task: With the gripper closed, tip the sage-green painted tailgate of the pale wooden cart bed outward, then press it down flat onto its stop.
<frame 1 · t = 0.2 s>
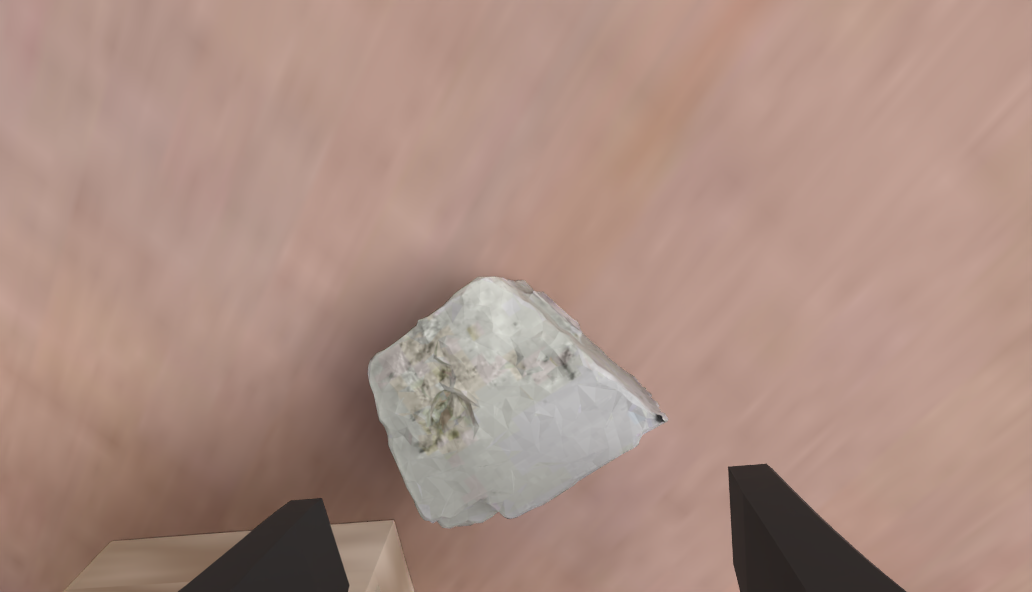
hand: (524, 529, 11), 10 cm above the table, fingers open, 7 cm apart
mineral specimen: (520, 331, 21), on the table
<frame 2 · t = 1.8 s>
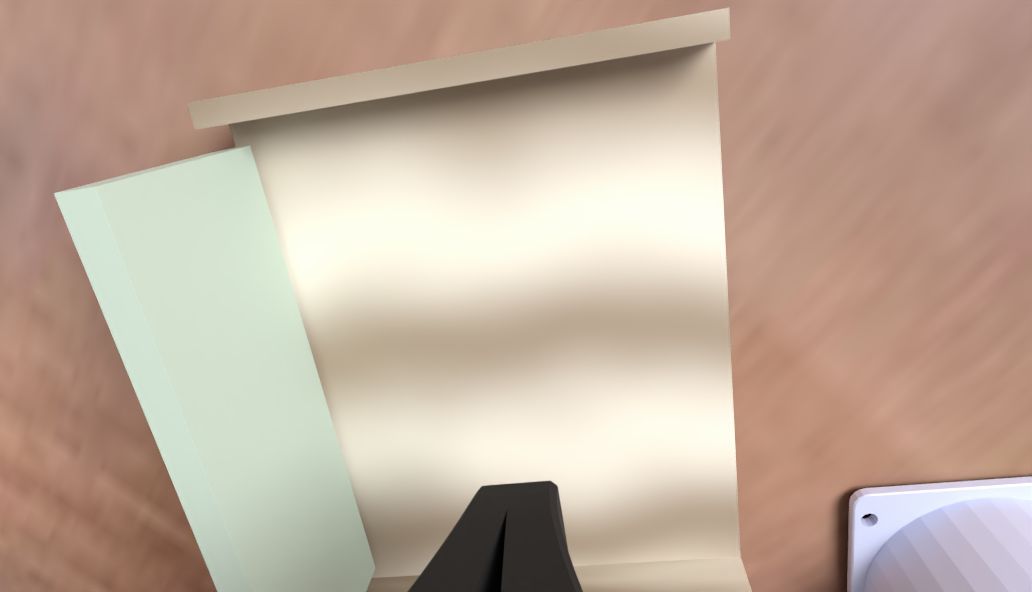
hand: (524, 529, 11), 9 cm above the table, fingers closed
tailgate: (263, 437, 16), point 5 cm above the table, hinge at 0.0°
cart bed: (516, 325, 20), on the table
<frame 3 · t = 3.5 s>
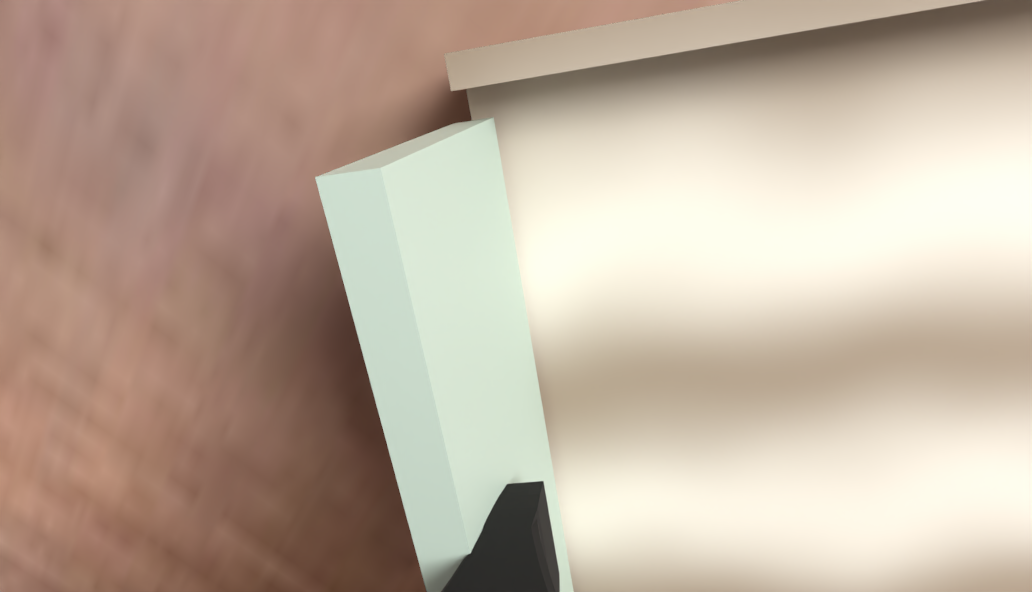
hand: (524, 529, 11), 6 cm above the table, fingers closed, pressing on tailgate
tailgate: (502, 508, 12), point 5 cm above the table, hinge at 6.1°, touching gripper
cart bed: (766, 347, 16), on the table
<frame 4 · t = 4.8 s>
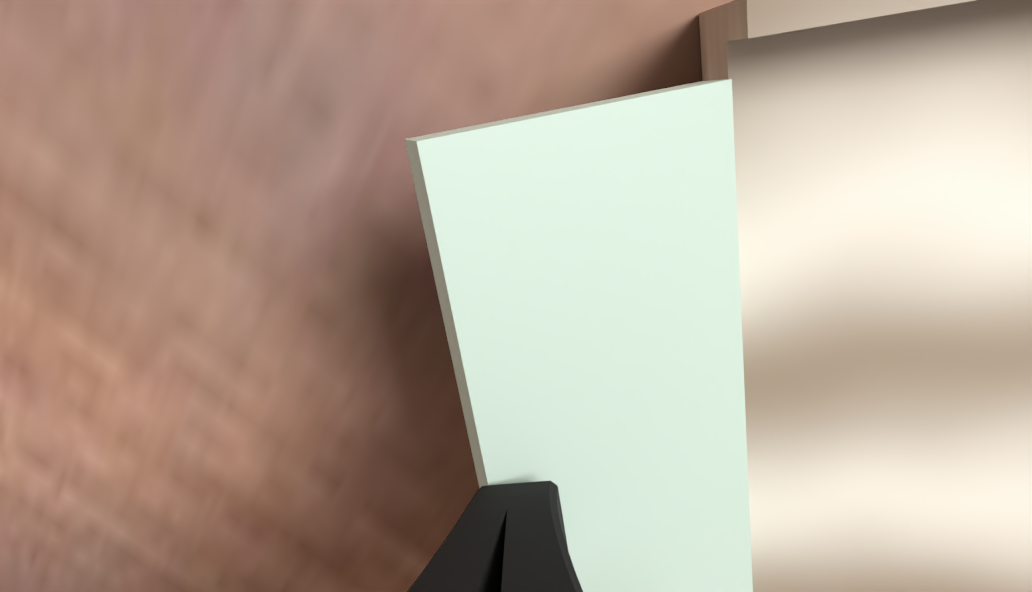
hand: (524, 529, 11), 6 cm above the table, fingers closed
tailgate: (619, 463, 12), point 4 cm above the table, hinge at 62.9°
cart bed: (975, 328, 15), on the table
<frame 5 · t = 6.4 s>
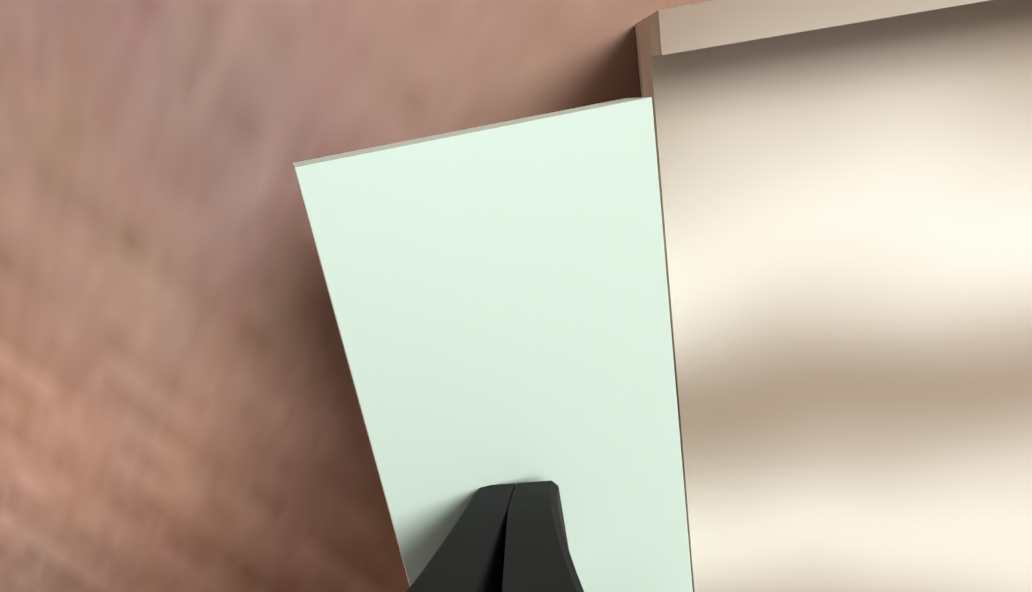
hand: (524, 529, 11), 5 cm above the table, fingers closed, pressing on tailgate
tailgate: (544, 499, 12), point 4 cm above the table, hinge at 63.3°, touching gripper
cart bed: (933, 353, 14), on the table
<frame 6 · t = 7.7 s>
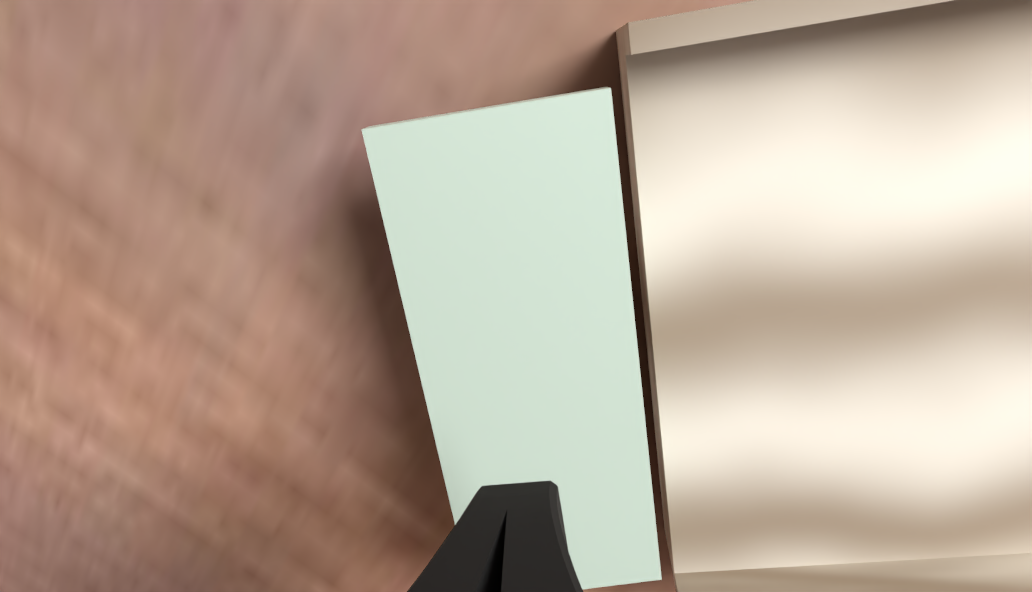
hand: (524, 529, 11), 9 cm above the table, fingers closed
tailgate: (531, 377, 16), point 3 cm above the table, hinge at 85.0°
cart bed: (855, 292, 18), on the table
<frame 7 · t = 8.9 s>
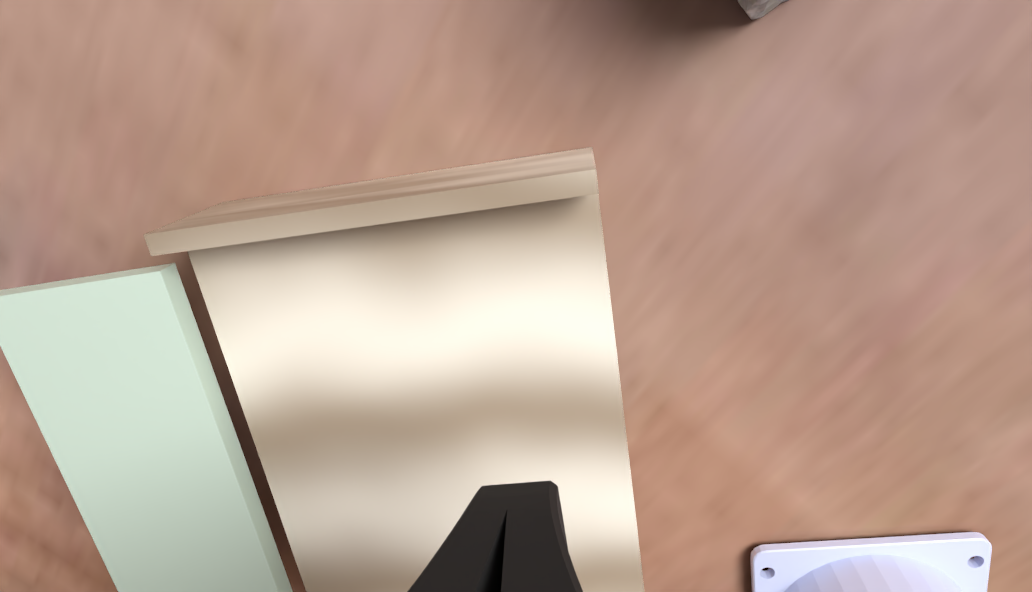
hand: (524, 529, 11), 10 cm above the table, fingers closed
tailgate: (158, 475, 21), point 3 cm above the table, hinge at 85.1°
cart bed: (449, 400, 22), on the table
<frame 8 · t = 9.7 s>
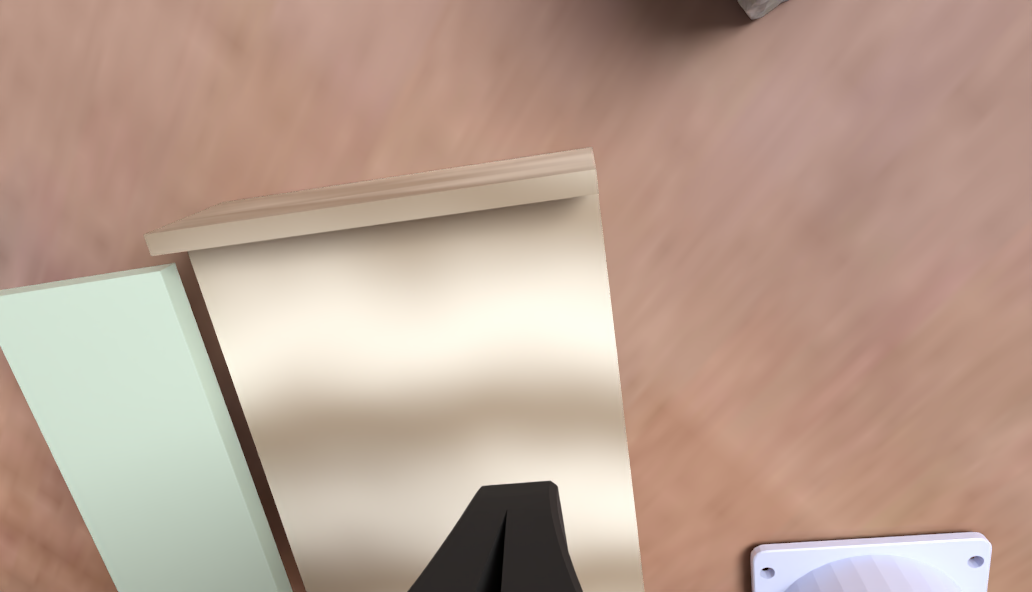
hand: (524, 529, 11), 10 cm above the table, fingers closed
tailgate: (158, 475, 21), point 3 cm above the table, hinge at 85.1°
cart bed: (449, 400, 22), on the table
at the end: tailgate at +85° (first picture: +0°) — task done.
